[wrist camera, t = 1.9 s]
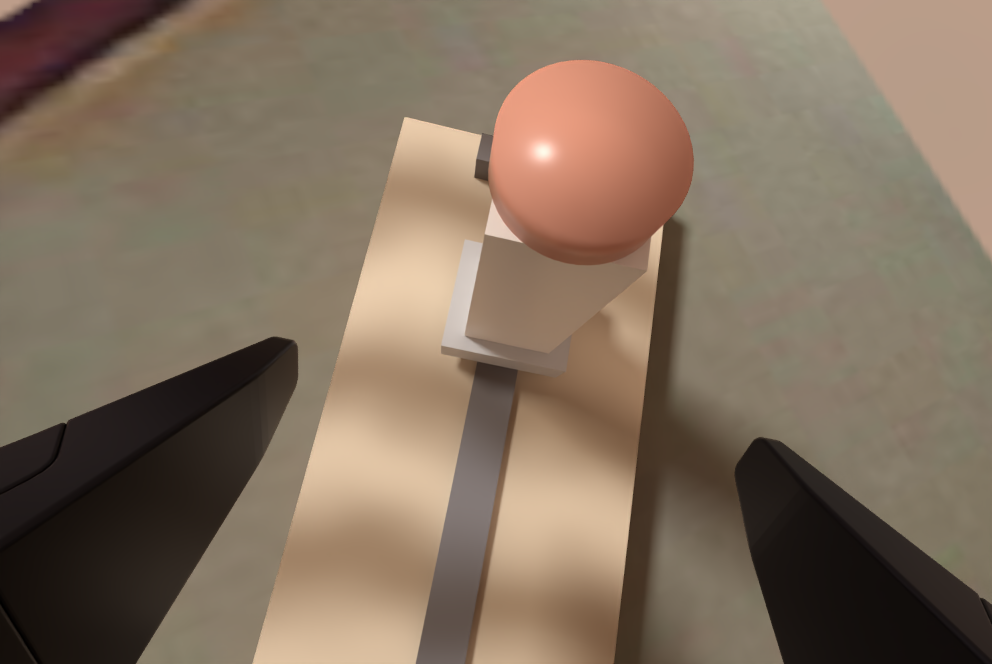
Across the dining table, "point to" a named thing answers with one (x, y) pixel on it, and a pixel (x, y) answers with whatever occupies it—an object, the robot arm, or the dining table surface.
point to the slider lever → (566, 211)
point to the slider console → (460, 459)
